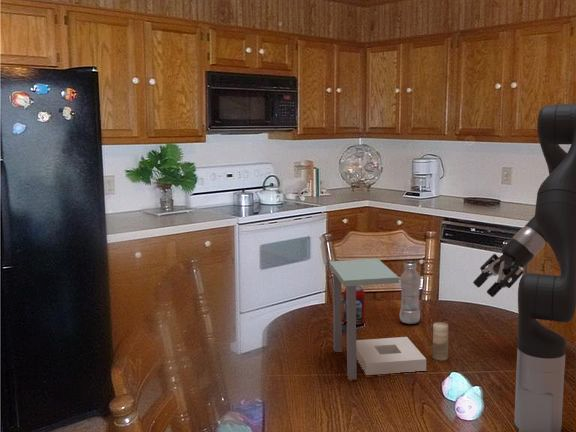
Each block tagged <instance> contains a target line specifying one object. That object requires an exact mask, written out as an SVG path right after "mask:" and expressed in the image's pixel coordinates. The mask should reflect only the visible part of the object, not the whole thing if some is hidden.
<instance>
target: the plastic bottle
mask: <svg viewBox="0 0 576 432" xmlns="http://www.w3.org/2000/svg"><path fill="white" fill-rule="evenodd" d="M417 269H418V267H417V262H416V261H412V260H411V261H404V270H403V272H402V273H401V275H400V277H399V284H400V289H401V290H400V291H401V305H400V309H399V320H400V322H401V323H403V324H408V325H412V324H414V325H415V324H418V323H419V321H420V319H421V309H420V302H419V301H420V298H419V295H420V287H421V283H422V281H421V280H422V277H421V275H420V273H419V272H418V271H417Z"/></svg>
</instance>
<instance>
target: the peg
mask: <svg viewBox="0 0 576 432" xmlns="http://www.w3.org/2000/svg"><path fill="white" fill-rule="evenodd" d="M432 326H433V327H432V328H433V329H432V358H433V359H434V360H437V361H446V360H448V358H449V323H447V322H443V321H437V322H436V321H435V322H434V323H433V324H432Z"/></svg>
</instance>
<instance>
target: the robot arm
mask: <svg viewBox="0 0 576 432" xmlns="http://www.w3.org/2000/svg"><path fill="white" fill-rule="evenodd" d="M536 128H537V129H536V130H537V137H538V141H539V144H540V148H541V152H542V155H543V157H544V159H545V162H546V165H547V169H548V176H547V177H546V178H545V179H544V180H543V182H541V184H540V186H539V188H538V189H537V194H536V202H535V210H534V216H533V217H531V219H530V220H529V221H528V222H526V224H525V225H524V226H523V227H521V228H520V229H519V230H518V231H517V232H516V233H515V234H514V235H513V236H512V237H511V239H510V240H509V241H507V243H506V244H504V246H503V247H501V252H502V255H500V256H498V255H497V254H496V253H494V254H492V255H491V256H490V258H488V259H487V260H486V261H485V262H484V263H483V264H481V266H480V267H479V269H480V271H481V273H480V274H479V275H478V276H477V277H476V279H474V280H473V282H472V283H473V284H474V285H475V286H476V288H480V287H481V286H482V285H483V284H484V283H486V281H488V279H490V278H491V277H493V276H498V278H497V279H496V281H494V283H493V284H491V286H490V287H489V288H488V289H487V290H486V294H488V295H489V297H491V298H494V297H495V296H496V295H497V294H498V293H499V292H500V291H501V290H502V289H504V288H507V289H511V288H512V286H513V285H514V284H516V282H517V281H518V279H519V278H520V277H521V278H520V279H519V282H518V289H517V314H518V317H517V319H518V320H517V321H518V322H517V324H518V325H517V326H518V327H517V329H518V330H517V346H516V347H517V351H516V352H517V353H516V374H515V375H516V376H515V397H514V398H515V400H514V422H513V423H514V425H515V427H516V428H517V429H518V432H562V425H563V424H562V422H563V403H564V386H565V385H564V384H565V370H566V369H565V368H566V352H567V350H566V349H567V345H566V344H567V343H566V340H565V338H564V337H563V336H562V335H560V334H559V333H557V332H555V331H554V330H551V329H549V328H547V327H546V326H544V325H542V324H541V323H540V322H539V320H541V321H550V322H558V323H569V322H571V321H572V320H573V319H574V316H575V312H576V103H564V104H561V103H560V104H557V103H556V104H548V105H544V106H541V108H540V110H539V112H538V115H537V123H536ZM560 145H570V147H569V149H568V151H567V152H566V150H564V148H563V147H561V146H560ZM546 243H547V244H548V245H549V246H550V248H551V251H552V252H553V253H554V254H553V255H554V256H555V259H556V260H557V263H558V265H559V271H560V275H553V274H544V273H543V274H542V273H541V274H540V273H530V272H528V273H526V272H524V270H523V268H525V267H526V266H527V265H528V264H529V263H530V262H531V260H533V259H534V258H535V256H537V255H538V253H540V251H541V250H542V249H543V247H545V245H546Z"/></svg>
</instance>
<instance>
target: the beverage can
mask: <svg viewBox="0 0 576 432" xmlns="http://www.w3.org/2000/svg"><path fill="white" fill-rule="evenodd" d="M365 297H366V292H365V291H364V289H363V286H362V285H360V286H356V320H361V321H362V322H363V324H364V323H366V322H365V321H366V320H365V319H366V312H365V311H366V299H365ZM346 321H347V309H346V288H345V289H344V290H343V322H344V323H345V322H346Z"/></svg>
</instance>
